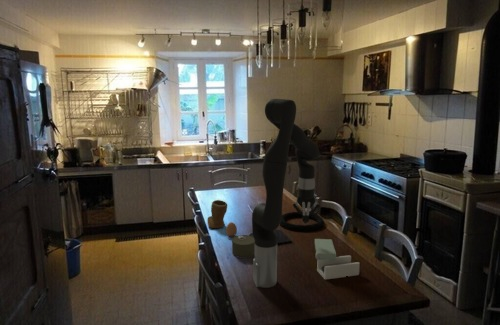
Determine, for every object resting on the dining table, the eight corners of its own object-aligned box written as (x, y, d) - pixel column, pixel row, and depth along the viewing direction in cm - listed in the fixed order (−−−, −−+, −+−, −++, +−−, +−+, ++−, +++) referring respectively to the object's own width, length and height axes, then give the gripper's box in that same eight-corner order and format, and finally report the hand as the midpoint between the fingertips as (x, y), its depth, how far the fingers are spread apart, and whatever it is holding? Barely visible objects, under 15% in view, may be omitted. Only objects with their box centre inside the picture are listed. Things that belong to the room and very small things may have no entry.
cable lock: (269, 218, 214) (298, 207, 235) (269, 224, 214) (297, 212, 236) (307, 229, 195) (335, 216, 217) (307, 236, 196) (334, 222, 217)
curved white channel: (325, 279, 149) (325, 267, 148) (316, 270, 156) (317, 259, 155) (358, 274, 153) (359, 263, 152) (349, 266, 160) (350, 255, 159)
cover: (336, 260, 154) (336, 254, 153) (315, 259, 155) (315, 253, 154) (331, 244, 170) (331, 239, 170) (312, 243, 171) (312, 238, 171)
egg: (225, 238, 192) (225, 224, 191) (226, 234, 198) (226, 220, 197) (236, 238, 192) (236, 224, 191) (237, 234, 198) (237, 220, 197)
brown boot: (228, 229, 206) (227, 204, 203) (207, 229, 204) (207, 205, 201) (226, 220, 220) (226, 197, 218) (207, 220, 219) (206, 197, 216)
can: (237, 260, 167) (237, 246, 166) (228, 250, 178) (228, 237, 176) (260, 255, 172) (260, 242, 171) (249, 246, 183) (249, 233, 181)
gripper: (292, 188, 160) (291, 224, 163) (321, 189, 159) (320, 225, 162) (291, 184, 167) (291, 219, 171) (320, 185, 166) (319, 220, 169)
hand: (305, 222), depth 166 cm, fingers closed
